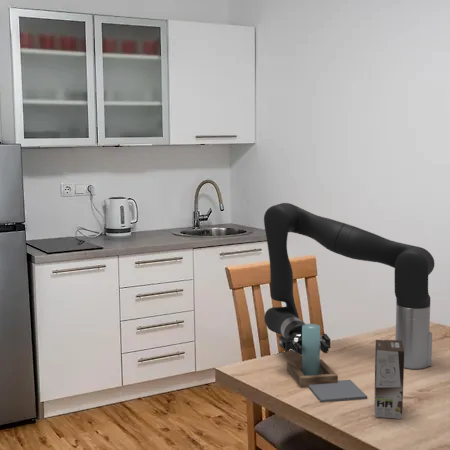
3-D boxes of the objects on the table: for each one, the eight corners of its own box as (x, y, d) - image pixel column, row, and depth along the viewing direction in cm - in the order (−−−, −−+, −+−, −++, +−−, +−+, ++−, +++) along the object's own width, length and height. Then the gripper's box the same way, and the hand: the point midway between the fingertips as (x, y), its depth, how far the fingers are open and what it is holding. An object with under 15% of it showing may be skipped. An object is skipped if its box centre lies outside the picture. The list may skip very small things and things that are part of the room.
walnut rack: (321, 367, 193) (321, 359, 192) (337, 384, 180) (337, 375, 179) (286, 370, 191) (287, 361, 191) (300, 387, 178) (300, 378, 178)
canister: (316, 372, 189) (317, 323, 187) (322, 378, 184) (322, 328, 182) (299, 374, 188) (300, 324, 186) (304, 380, 183) (305, 329, 182)
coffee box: (403, 419, 158) (405, 351, 155) (374, 417, 159) (375, 349, 157) (401, 404, 166) (402, 339, 164) (374, 402, 168) (375, 338, 166)
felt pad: (350, 381, 182) (350, 379, 182) (367, 398, 170) (367, 396, 170) (306, 384, 180) (306, 382, 180) (320, 402, 168) (320, 399, 168)
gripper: (272, 321, 197) (287, 338, 181) (320, 318, 200) (339, 335, 183) (272, 346, 198) (287, 365, 182) (319, 343, 201) (339, 362, 184)
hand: (313, 350), depth 183 cm, fingers open, 6 cm apart
